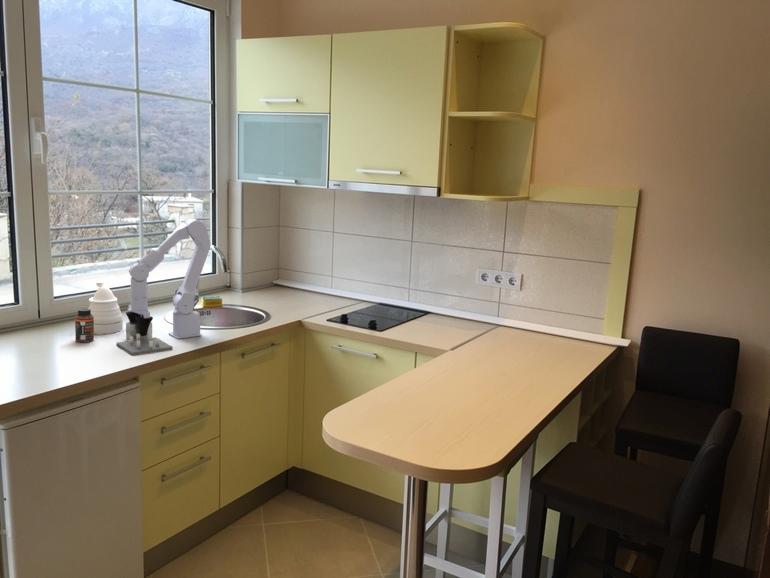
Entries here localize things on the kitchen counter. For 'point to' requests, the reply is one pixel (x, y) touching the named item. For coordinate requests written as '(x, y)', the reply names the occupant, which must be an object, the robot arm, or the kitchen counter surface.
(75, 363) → the kitchen counter surface
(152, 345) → the pin tray
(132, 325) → the block
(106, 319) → the honey pot
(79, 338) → the supplement bottle
